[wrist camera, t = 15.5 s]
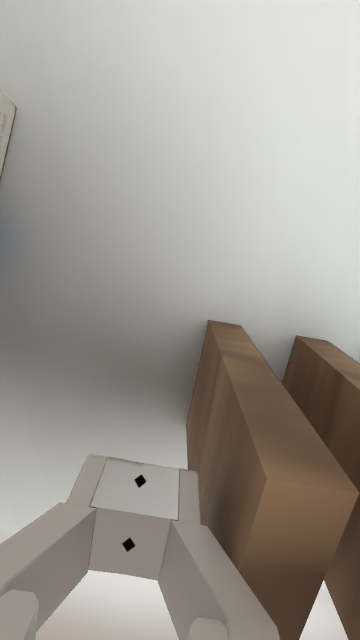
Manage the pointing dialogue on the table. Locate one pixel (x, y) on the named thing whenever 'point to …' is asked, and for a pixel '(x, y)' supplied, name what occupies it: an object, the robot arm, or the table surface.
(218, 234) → the table surface
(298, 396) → the domino
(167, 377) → the table surface
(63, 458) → the table surface
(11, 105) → the ink box
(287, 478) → the domino
